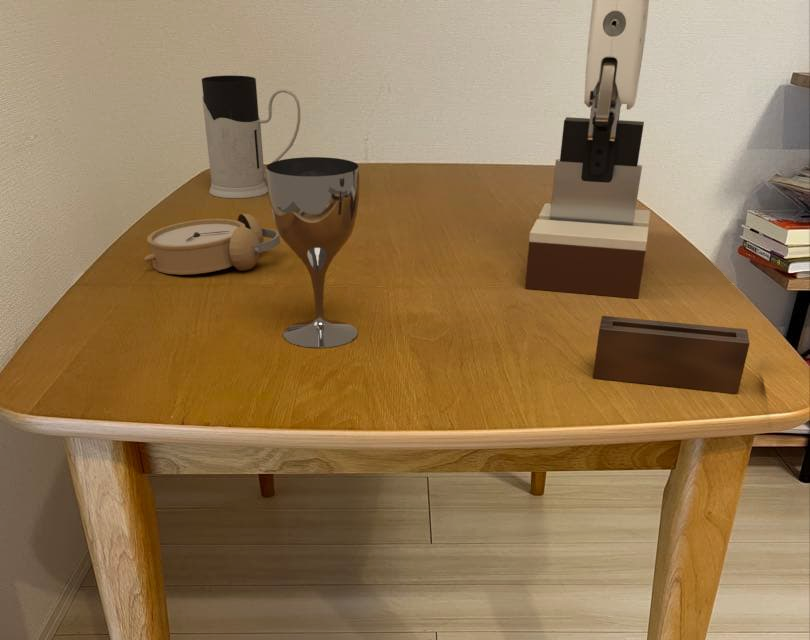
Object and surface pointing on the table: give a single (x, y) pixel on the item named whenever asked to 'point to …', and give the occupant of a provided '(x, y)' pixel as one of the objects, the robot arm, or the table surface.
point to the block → (671, 354)
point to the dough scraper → (597, 198)
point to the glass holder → (236, 136)
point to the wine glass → (315, 230)
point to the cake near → (586, 258)
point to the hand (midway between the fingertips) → (597, 177)
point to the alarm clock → (209, 245)
